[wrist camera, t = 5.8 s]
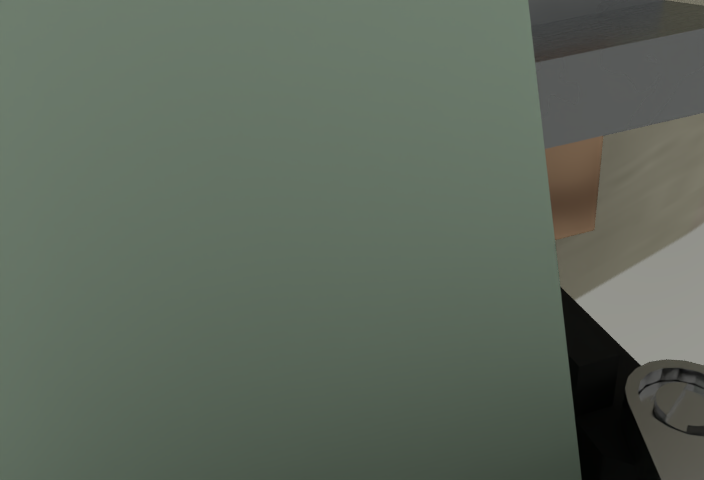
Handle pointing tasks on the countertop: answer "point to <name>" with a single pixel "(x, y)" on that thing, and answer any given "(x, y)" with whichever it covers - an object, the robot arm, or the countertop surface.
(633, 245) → the countertop surface
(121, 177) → the beam
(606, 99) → the stand
